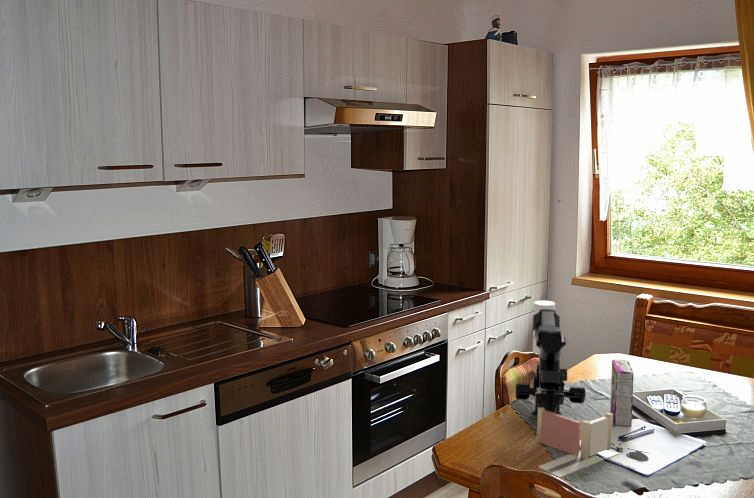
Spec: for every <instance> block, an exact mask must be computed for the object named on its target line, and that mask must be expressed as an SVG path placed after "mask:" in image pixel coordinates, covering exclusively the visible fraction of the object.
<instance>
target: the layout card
mask: <svg viewBox="0 0 754 498" xmlns="http://www.w3.org/2000/svg"><path fill="white" fill-rule="evenodd" d="M580 452H581V449H580V451H579V455H574V454H571V453H568V454H567V455H563V456H561V457H559V458H556V459H554V460H552V461H548V462H546V463H543V464H541V465H538V466H537V467H538V468H539V469H541V470H544V471H545V472H547V473H549V474H550V475H552V476H555V477H557V476H558V477H559V479H561V478H563V477H565V476H566V477H567V476H568V475H570V474H573V473H575V472H578V471H580V470H583V469H585V468H587V467H590V466H593V465H595V464H597V463H600V462H602V461H605V460H604V459H603V458H601V457H599V456H597V455H596V454H595V455H592V456H588V459H586V460H585V459H582V458H580ZM558 477H557V478H558Z"/></svg>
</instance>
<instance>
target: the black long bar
mask: <svg viewBox="0 0 754 498" xmlns="http://www.w3.org/2000/svg"><path fill="white" fill-rule="evenodd" d="M539 309H540V310H541V309H553V310H555V311H556V303H555V301H551V300H535V301H534V302H533V316H534V315H535V314H537V313H538V312H539ZM532 331H533V333H532V334H533V335H532V336H533V337H532V340H533V341H532V354H533V353H537V354H538V355H539V354H540V348H538V346H536V337H535V330H533V329H532Z"/></svg>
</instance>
